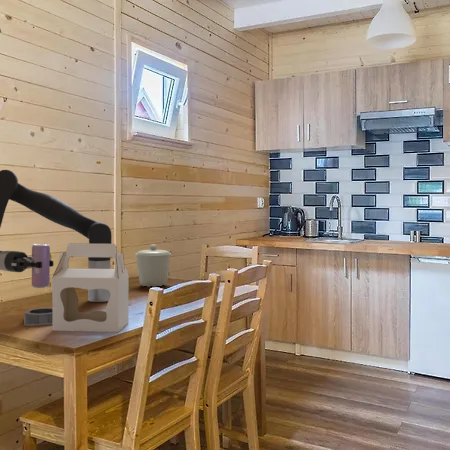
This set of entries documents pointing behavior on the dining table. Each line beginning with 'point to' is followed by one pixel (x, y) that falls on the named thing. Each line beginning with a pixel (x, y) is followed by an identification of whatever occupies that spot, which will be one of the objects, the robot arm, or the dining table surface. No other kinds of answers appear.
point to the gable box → (89, 279)
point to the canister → (153, 266)
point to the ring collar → (38, 317)
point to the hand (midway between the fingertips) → (47, 264)
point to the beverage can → (42, 274)
